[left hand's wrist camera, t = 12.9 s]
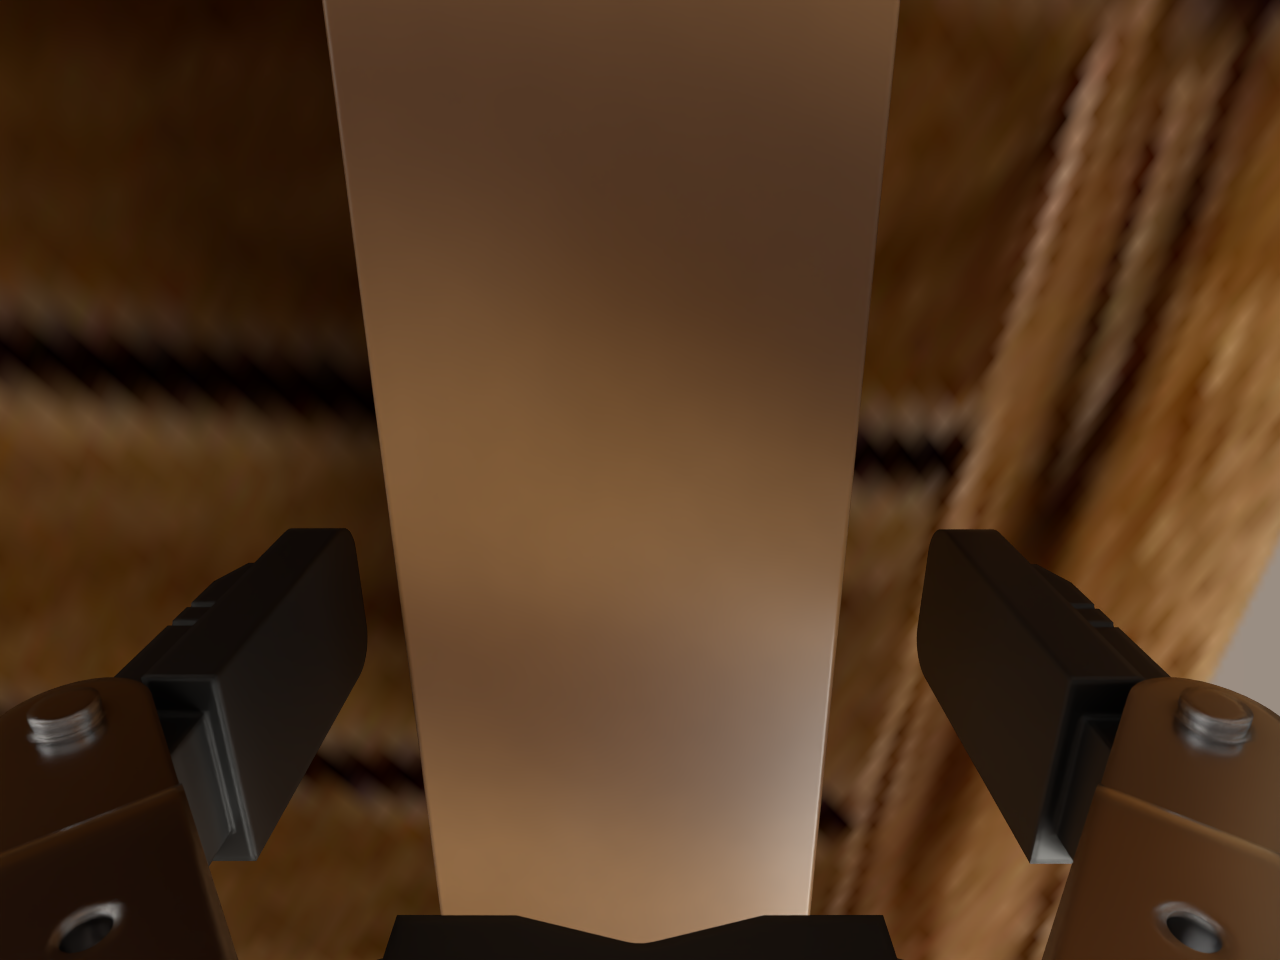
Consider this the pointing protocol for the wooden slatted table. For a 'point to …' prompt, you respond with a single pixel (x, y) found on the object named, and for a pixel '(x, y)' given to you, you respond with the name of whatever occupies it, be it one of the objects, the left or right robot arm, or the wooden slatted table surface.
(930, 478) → the wooden slatted table surface
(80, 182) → the wooden slatted table surface
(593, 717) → the post
